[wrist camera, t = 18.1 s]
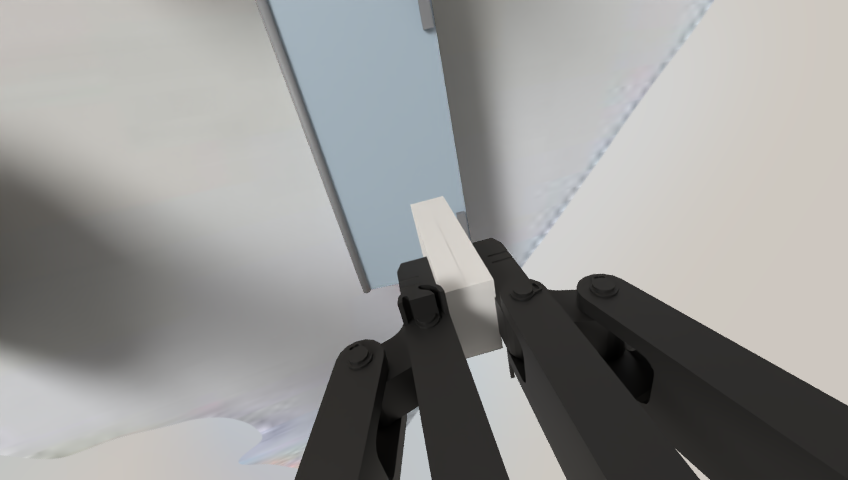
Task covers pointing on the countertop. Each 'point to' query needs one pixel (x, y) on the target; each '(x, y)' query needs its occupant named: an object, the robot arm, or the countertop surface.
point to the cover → (371, 118)
